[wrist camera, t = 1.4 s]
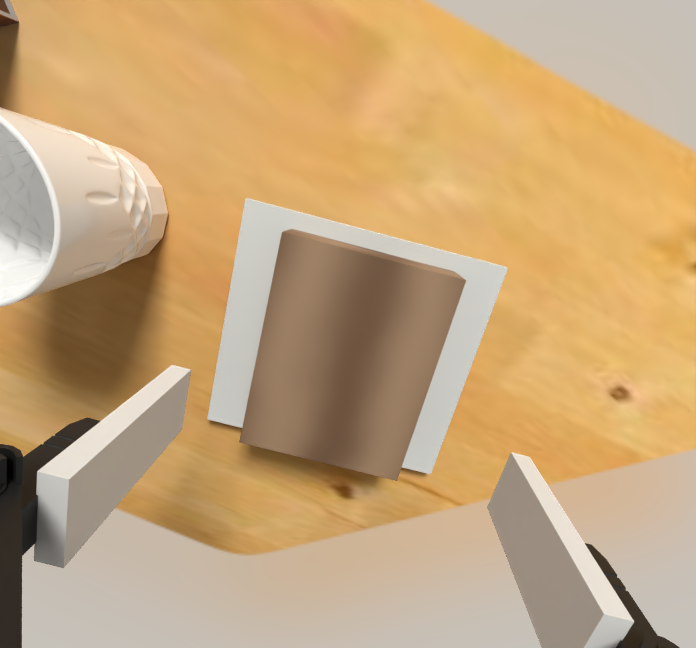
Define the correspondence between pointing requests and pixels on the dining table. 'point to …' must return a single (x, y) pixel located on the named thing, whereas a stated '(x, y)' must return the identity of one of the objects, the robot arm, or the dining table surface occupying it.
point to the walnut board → (347, 353)
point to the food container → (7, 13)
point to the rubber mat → (270, 221)
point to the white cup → (69, 207)
